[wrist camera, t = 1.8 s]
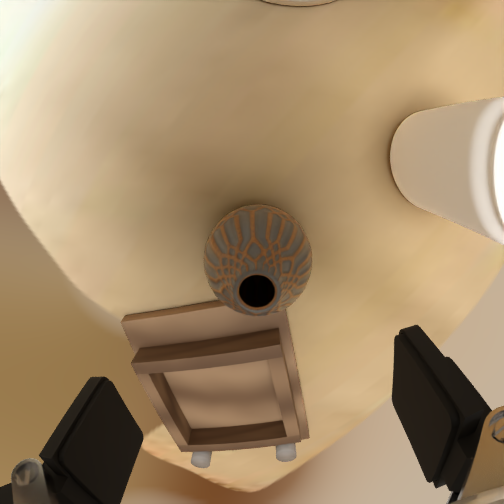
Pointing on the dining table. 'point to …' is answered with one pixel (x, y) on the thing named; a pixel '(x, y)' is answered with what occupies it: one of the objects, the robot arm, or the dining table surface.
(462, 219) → the beverage can
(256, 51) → the dining table surface
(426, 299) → the dining table surface
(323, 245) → the dining table surface
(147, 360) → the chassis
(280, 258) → the vase
